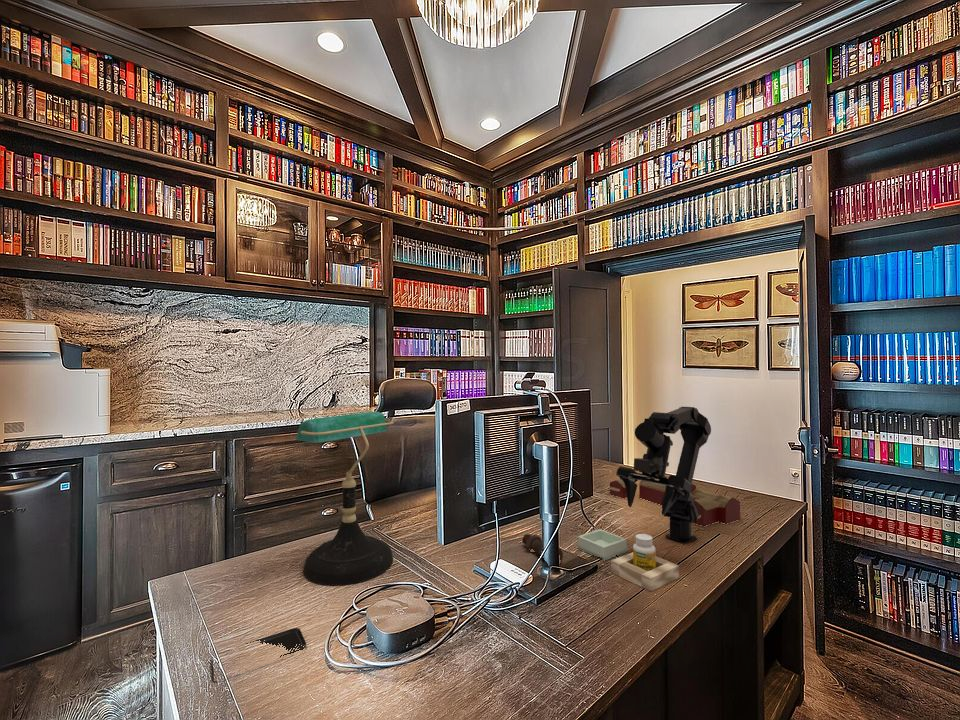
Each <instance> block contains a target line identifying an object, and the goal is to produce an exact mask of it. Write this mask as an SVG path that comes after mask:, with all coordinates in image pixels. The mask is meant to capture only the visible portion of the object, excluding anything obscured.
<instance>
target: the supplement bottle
mask: <svg viewBox="0 0 960 720" xmlns="http://www.w3.org/2000/svg"><path fill="white" fill-rule="evenodd" d="M653 539H654V538H653V537H652V536H651V535H650V534H646V533H639V534H636V535H635V543H634V544H632V552H633V565H634V566H637V567H639V568H641V569H644V570H646V571H650V570H652V569H655V568H656V557H657V554H656V553H657V549H656V547H655V545H653V542H654V541H653Z"/></svg>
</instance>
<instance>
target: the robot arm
mask: <svg viewBox="0 0 960 720" xmlns="http://www.w3.org/2000/svg"><path fill="white" fill-rule="evenodd" d="M679 430H680V435H681V438H682V440H683V444H682V448H681V452H680V456H679V457H680V458H679V461H678V465H677V468H676V473H675V475H672V474H671V475H669V476H668V477H667V476H666V471H667V467H669V466H670V462H668V461H669V457H670V451H671V447H672V446H674V442H673V440H672V439H671V437H670V435H666V434H673V435H675V434H676V433H677V432H678V431H679ZM711 433H712V426H711V424H710V422H709V420H708V418H707V417H706V416H705V415H703V414H701V412H699V410H698V408H696V407H695V406H693V407H692V406H679V407H678V408H677V409H673V410H671V411H668V412H657V411H653V412H652V413H651V414H650V416H649V417H647V418H646V417H645V418H644V420H643V422H641V423H639V424H638V425H637V426H636V427H635V429H634V437H635V438H636V439H637V441H639V442H640V443H641V445H642V444H643V446H644V447H646V448H647V449H646V453H643V455H642V458H640V457H639V458H638V457H637V458H636V457H635V458H633V468H632V467H626V466H619V467H618V468H617V469H616V473H615V476H617V477H618V478H619V480H620V479H621V480H622V481H623V482H624V484H625V487H626V492H627V498H626V499H627V505H628V507H629V508H632V506H633V503H634V501H635V496H636V493H637V489H638V484H637V483H636V482H638V481H646V482H651V483H657V484H662V485H667V486H666V489H665V493H664V496H663V498H662V502H661V504H662V506H661V508H662V509H661V515H662V516H663V517H666V518H667V517H668V518H669V533H667V534H665V537H666V538H667V539H671V540H674V541H676V542H678V543H682V544H687V543H689V542H693V541H694V540H697V536H694V535H692V523H693V522H697V521H698V510H697V509H696V507H695V505H694V498H693V496H692V493H691V484H693V481H694V480H693V479H694V475H695V470H696V467H697V461H698V457H699V453H700V448H701V447H703V446H704V445H706V443H707V442H708V440H709V437H710V435H711ZM647 478H650V479H647ZM655 479H656V480H655ZM658 480H659V481H658Z"/></svg>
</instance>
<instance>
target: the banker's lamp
mask: <svg viewBox="0 0 960 720" xmlns="http://www.w3.org/2000/svg"><path fill="white" fill-rule="evenodd" d="M393 424H394V421H393V420H386V419H385V414H384V413H382V412H379V411H367V412H358V413H350V414H340V415H334V416H325V417H324V416H323V417H317V418H310V419H306V420H304V421H302V422H301V423H300V425H299V428H298V431H297V434H296V437H295V440H296V441H301V442H307V443H314V444H315V443H316V444H317V443H325V442H331V441H332V442H333V441H339V440H345V439H349V438H355V437H361V436H362V439H363V441H364V444H365V448H364V450H363V452H362V453H361V454H360V455H359V457H358V458H357V460H356V461H355V462H354V464H353V465H352V466H351V468H350V470H347V472H346V474H345V476H346V477H345V478H346V479H344V480H343V481H342V483H341V487H342V507H341V509H342V510H341V511H342V513H343V515H342V517H341V518H342V519H341V522H340V524H339V527H338V530H337V532H336V534H335V536H334V537H333V538H332V539H330V540H328V541H326V542H325V541H324V542H323V543H322V544H320V546H318V547H316V548H314V549H313V550H312V551H311V552H310V553H309V554H308V555H307V556H306V559H305V561H304V565H303V570H302V571H303V576H304V577H305V578H306V579H307V580H308V581H310V582H313V583H314V584H318V585H324V586H346V585H353V584H359V583H362V582H366V581H370V580H371V579H373V578H376V577H378V576H380V575H383V573H385V572H386V571H387V570H388V569H390V567H391V566H392V564H393V563H394V556H393V552H392V548H391V547H390V545H389V544H387V542H385V541H383V540H381V539H379V538H376V537H374V536H370V535H366V534H365V533H364V532H363V530H362V529H361V526H360V525H359V522H358V520H357V516H356V513H355V512H356V510H357V505H356V487H357V482H356V480H355V479H354V478H352V476H353V475H352V474H353V472H354V470H355V469H356V468H357V466H358V464H359V463H360V462H361V461H362V459H363V458H364V456H365V455H366V454H367V452H368V450H369V449H370V444H369V441H368V438H367V435H372V434H379V433H384V432H387V431H388V430H387V426H389V425H393Z"/></svg>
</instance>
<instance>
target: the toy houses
mask: <svg viewBox="0 0 960 720" xmlns="http://www.w3.org/2000/svg"><path fill="white" fill-rule="evenodd" d="M647 479H650V478H647ZM655 480H658V479H655ZM658 481H659V480H658ZM608 484H609V495H610V494H611V495H610V496H612V495H614V496H613V497H615V496H618V497H621V498H624V499H626V498H625V497H627V492H626V487H625V484H624V482H623V481H622V480H621V479H620V478H619V479H616V480H613V481H610V482H608ZM637 486H638V488H639V493H638V494H639V497H638V498H639V499H640V498H642V499H645V500H648V501H651V502H654V503H653V504H655V503H657V504H656V505H658V504H660V505H659V506H661V505H662V504H661V502H662V498H663V496H664V493H665V489H666V486H667V485H662V484H657V483H651V482H646V481H641V480H639V483H638V484H637ZM697 487H698V486H696V485H695V484H693V483H692V484H691V493H692V496H693V498H694V505H695V507H696V509H697V510H698V521H697V522H693V523H695V524H698V525H702V526H706V525H709V524H712V523H715V522H718V521H719V522H722V523H725V524H727V523H730V522H733V521H736V520H739V519H740V520H741V501H740V500H738V499H736V498H734V497H732V496H727V495H724V494H718V493H716V492H712V491H709V490H703V489H699V488H697ZM618 497H617V498H618ZM621 498H620V499H621ZM642 499H641V500H642ZM645 500H644V501H645ZM648 501H647V502H648ZM651 502H650V503H651ZM695 524H694V525H695ZM698 525H697V526H698Z"/></svg>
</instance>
